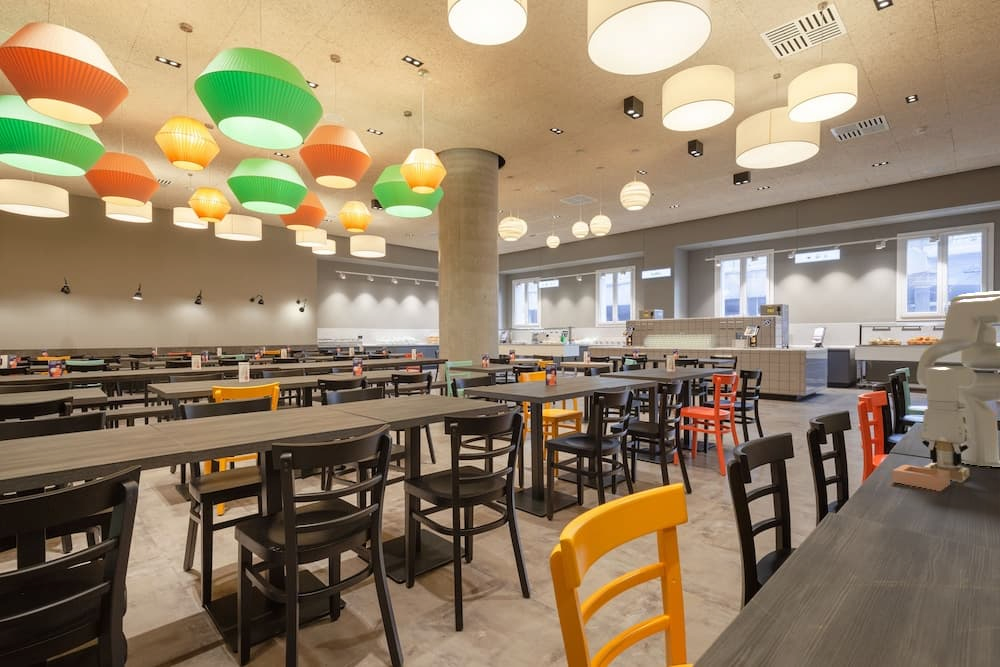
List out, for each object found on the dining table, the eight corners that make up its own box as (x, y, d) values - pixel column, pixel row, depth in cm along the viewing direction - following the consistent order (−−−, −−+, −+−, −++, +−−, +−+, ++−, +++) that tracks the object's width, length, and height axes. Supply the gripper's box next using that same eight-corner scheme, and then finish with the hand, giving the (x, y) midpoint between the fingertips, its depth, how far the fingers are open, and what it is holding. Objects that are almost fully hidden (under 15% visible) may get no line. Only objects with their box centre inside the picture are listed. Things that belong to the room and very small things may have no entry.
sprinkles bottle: (956, 476, 151) (954, 434, 151) (956, 479, 148) (953, 436, 148) (937, 474, 154) (935, 432, 155) (936, 477, 151) (934, 434, 151)
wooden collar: (932, 471, 157) (931, 462, 157) (969, 477, 150) (969, 467, 150) (923, 476, 152) (923, 466, 152) (962, 482, 145) (961, 472, 145)
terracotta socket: (904, 476, 152) (904, 464, 152) (950, 484, 143) (949, 471, 143) (893, 483, 146) (892, 470, 146) (939, 491, 137) (939, 477, 137)
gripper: (983, 407, 147) (986, 467, 146) (913, 403, 161) (915, 457, 160) (977, 409, 142) (980, 471, 142) (905, 405, 156) (908, 460, 156)
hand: (945, 463), depth 151 cm, fingers closed on sprinkles bottle, 4 cm apart
